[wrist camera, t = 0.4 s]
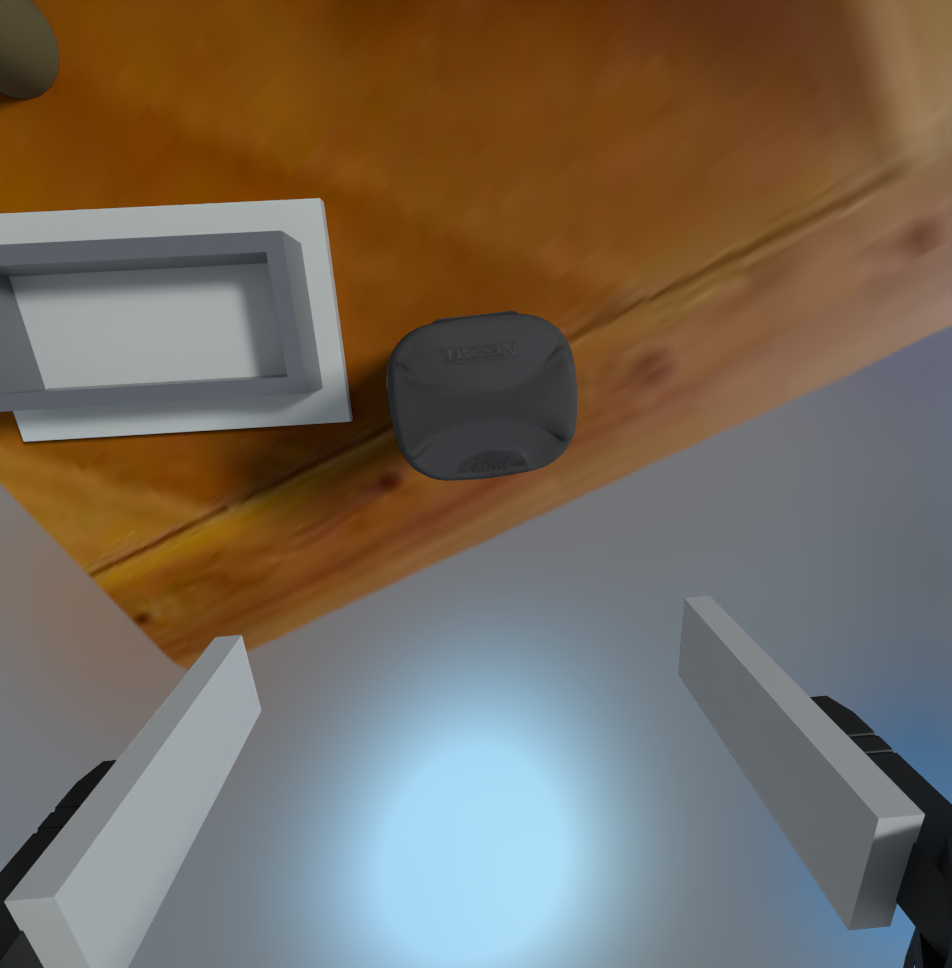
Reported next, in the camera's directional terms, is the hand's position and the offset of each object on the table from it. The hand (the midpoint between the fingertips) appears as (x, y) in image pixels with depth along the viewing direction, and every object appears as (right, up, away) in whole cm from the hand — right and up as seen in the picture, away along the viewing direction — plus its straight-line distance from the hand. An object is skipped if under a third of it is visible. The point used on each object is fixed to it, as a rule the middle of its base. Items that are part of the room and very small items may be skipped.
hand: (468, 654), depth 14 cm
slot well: (-23, +17, +22) cm, 37 cm away
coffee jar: (0, +14, +24) cm, 28 cm away
